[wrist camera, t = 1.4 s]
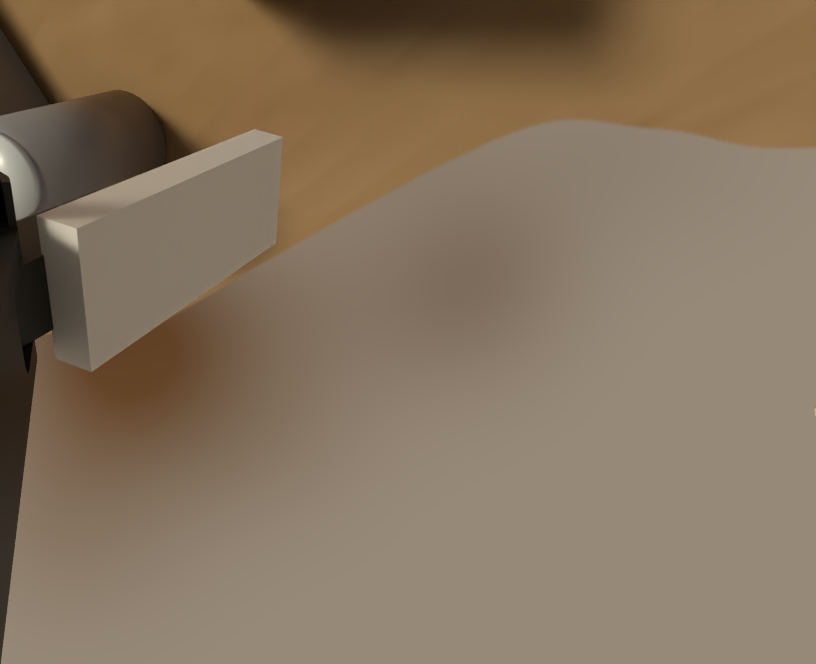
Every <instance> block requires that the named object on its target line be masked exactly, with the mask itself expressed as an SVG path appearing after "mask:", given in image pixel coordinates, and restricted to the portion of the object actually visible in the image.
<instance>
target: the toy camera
mask: <svg viewBox="0 0 816 664" xmlns="http://www.w3.org/2000/svg"><path fill="white" fill-rule="evenodd" d="M46 105H50V104H49V103H48V101H47V100H46V98H45V97H44V95H43V94H42V92H41V90H40V89H39V87H38V86H37V84H36V83H35V81H34V79H33V78H32V76H31V75H30V73H29V72H28V70H27V69H26V67H25V65H24V64H23V62H22V61H21V59H20V58H19V56H18V55H17V53H16V51H15V50H14V48H13V47H12V45H11V44H10V42H9V41H8V39H7V37H6V36H5V34H4V33H3V31H2V30H1V28H0V116H2V115H6V114H11V113H15V112H19V111H24V110H28V109H33V108H37V107H42V106H46Z"/></svg>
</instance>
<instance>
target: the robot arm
mask: <svg viewBox="0 0 816 664" xmlns="http://www.w3.org/2000/svg"><path fill="white" fill-rule="evenodd" d="M282 144H283V137H281V136H277V135H273V134H270V133H266V132H263V131H259V130H255V129H254V130H251V131H249V132H246V133H244V134H241V135H239V136H236V137H233V138H231V139H228V140H226V141H223V142H221V143H218V144H216V145H213V146H211V147H208V148H206V149H203V150H201V151H198V152H196V153H193V154H191V155H188V156H185V157H183V158H180V159H178V160H175V161H173V162H170V163H168V164H165V165H163V166H160V167H158V168H155V169H153V170H150V171H148V172H145V173H143V174H140V175H137V176H135V177H132V178H130V179H127V180H125V181H122V182H120V183H117V184H115V185H112V186H110V187H107V188H105V189H99V190H96V191H93V192H91V193H88V194H86V195H83V196H81V197H78V199H77V200H75V199H73V200H70V201H68V202H65V203H63V204H61V206H55V207H53V208H50V209H47V210H45V211H42V212H40V213H37V214H35V215H32V216H30V217H27V218H25V219H22V220H19V221H16V214H15V208H14V201H13V194H12V188H11V182H10V179H9V176H7V175H5V174H4V173H2V172H0V664H1V656H2V647H3V639H4V631H5V622H6V614H7V606H8V596H9V589H10V580H11V572H12V564H13V556H14V547H15V539H16V531H17V522H18V514H19V506H20V497H21V489H22V480H23V472H24V463H25V456H26V447H27V439H28V431H29V422H30V413H31V406H32V397H33V389H34V379H35V373H36V364H37V353H36V346H35V339H37V338H39V337H41V336H42V335H44V334H46V333H48V332H49V331H51V330H52V335H53V342H54V349H55V357H56V359H59V360H61V361H64V362H66V363H69V364H72V365H75V366H77V367H80V368H82V369H85V370H88V371H90V372H92V371H93V370H95V369H96V368H98V367H99V366H100V365H102V364H103V363H105V362H106V361H108V360H109V359H111V358H112V357H113V356H115V355H116V354H118V353H119V352H121V351H122V350H124V349H125V348H126V347H128V346H129V345H131V344H132V343H134V342H135V341H136V340H138V339H139V338H141V337H142V336H144V335H145V334H146V333H148V332H149V331H151V330H152V329H154V328H155V327H157V326H158V325H159V324H161V323H162V322H164V321H165V320H167V319H168V318H169V317H171V316H172V315H174V314H175V313H177V312H178V311H179V310H181V309H182V308H184V307H185V306H187V305H188V304H190V303H191V302H192V301H194V300H195V299H197V298H198V297H200V296H201V295H202V294H204V293H205V292H207V291H208V290H210V289H211V288H212V287H214V286H215V285H217V284H218V283H220V282H221V281H222V280H224V279H225V278H227V277H228V276H230V275H231V274H233V273H234V272H235V271H237V270H238V269H240V268H241V267H243V266H244V265H245V264H247V263H248V262H250V261H251V260H253V259H254V258H255V257H257V256H258V255H260V254H261V253H263V252H264V251H266V250H267V249H268V248H270V247H271V246H273V245H274V244H276V239H277V223H278V208H279V192H280V176H281V160H282ZM814 412H815V415H816V408H815V410H814Z"/></svg>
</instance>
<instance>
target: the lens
mask: <svg viewBox="0 0 816 664" xmlns="http://www.w3.org/2000/svg"><path fill="white" fill-rule="evenodd" d="M165 157H166V141H165V136H164V132H163V129H162V127H161V124H160V122H159V120H158V118H157V117H156V115H155V114H154V112H153V111H152V110H151V108H150V107H149V106H148V105H147V104H146V103H145V102H144V101H143V100H141V99H140V98H139V97H137V96H135V95H133V94H131V93H129V92H126V91H121V90H114V91H108V92H104V93H100V94H95V95H91V96H86V97H82V98H77V99H73V100H68V101H64V102H59V103H55V104H51V105H46V106H42V107H37V108H33V109H28V110H24V111H19V112H15V113H11V114H6V115H2V116H0V172H2V173H4V174H5V175H7V176H9V179H10V182H11V188H12V194H13V201H14V208H15V214H16V221H19V220H22V219H25V218H27V217H30V216H32V215H35V214H37V213H40V212H42V211H45V210H47V209H50V208H53V207H55V206H61V204H63V203H65V202H68V201H70V200H73V199H75V200H77V199H78V197H81V196H83V195H86V194H88V193H91V192H93V191H96V190H99V189H105V188H107V187H110V186H112V185H115V184H117V183H120V182H122V181H125V180H127V179H130V178H132V177H135V176H137V175H140V174H143V173H145V172H148V171H150V170H153V169H155V168H158V167H160V166H163V164H164V161H165Z"/></svg>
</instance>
